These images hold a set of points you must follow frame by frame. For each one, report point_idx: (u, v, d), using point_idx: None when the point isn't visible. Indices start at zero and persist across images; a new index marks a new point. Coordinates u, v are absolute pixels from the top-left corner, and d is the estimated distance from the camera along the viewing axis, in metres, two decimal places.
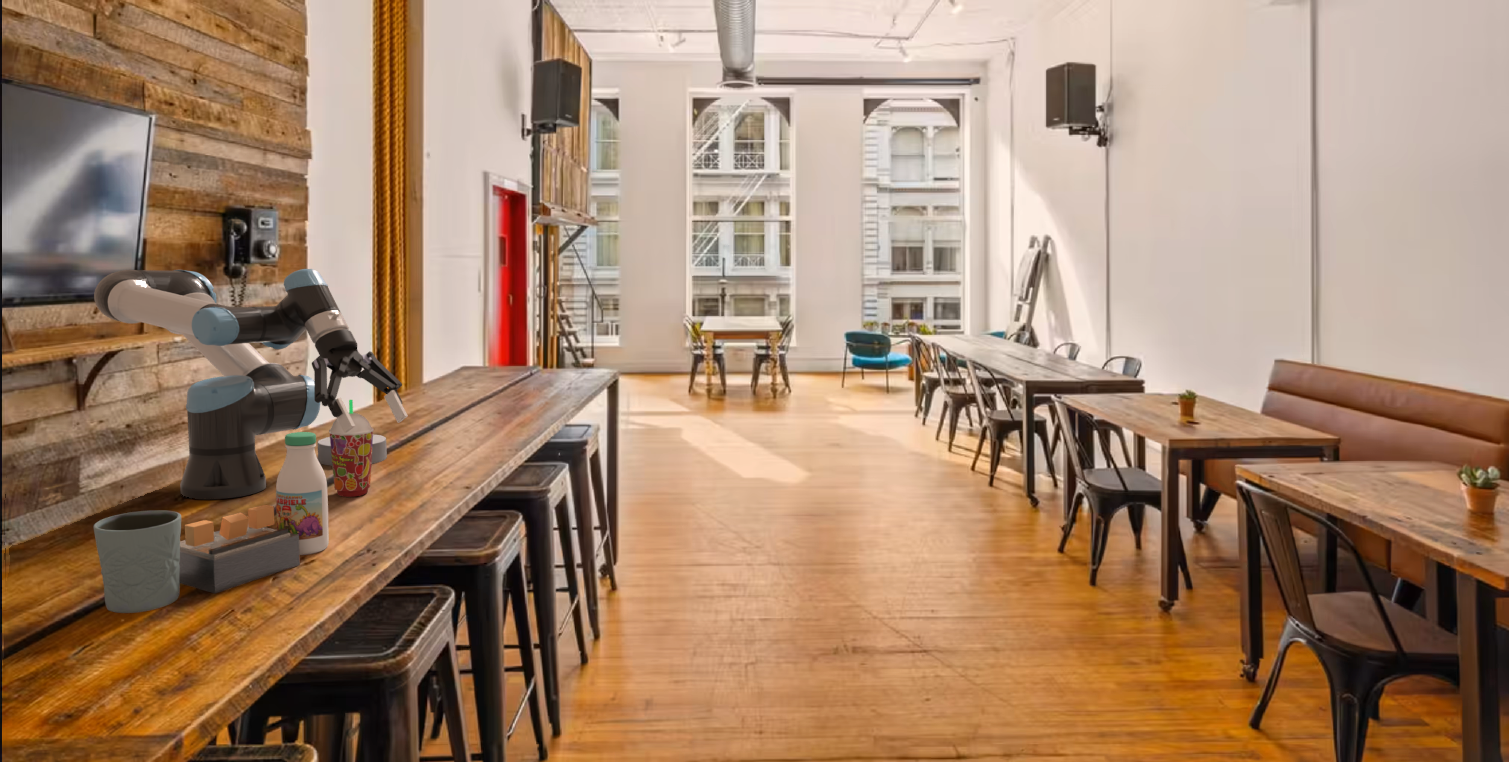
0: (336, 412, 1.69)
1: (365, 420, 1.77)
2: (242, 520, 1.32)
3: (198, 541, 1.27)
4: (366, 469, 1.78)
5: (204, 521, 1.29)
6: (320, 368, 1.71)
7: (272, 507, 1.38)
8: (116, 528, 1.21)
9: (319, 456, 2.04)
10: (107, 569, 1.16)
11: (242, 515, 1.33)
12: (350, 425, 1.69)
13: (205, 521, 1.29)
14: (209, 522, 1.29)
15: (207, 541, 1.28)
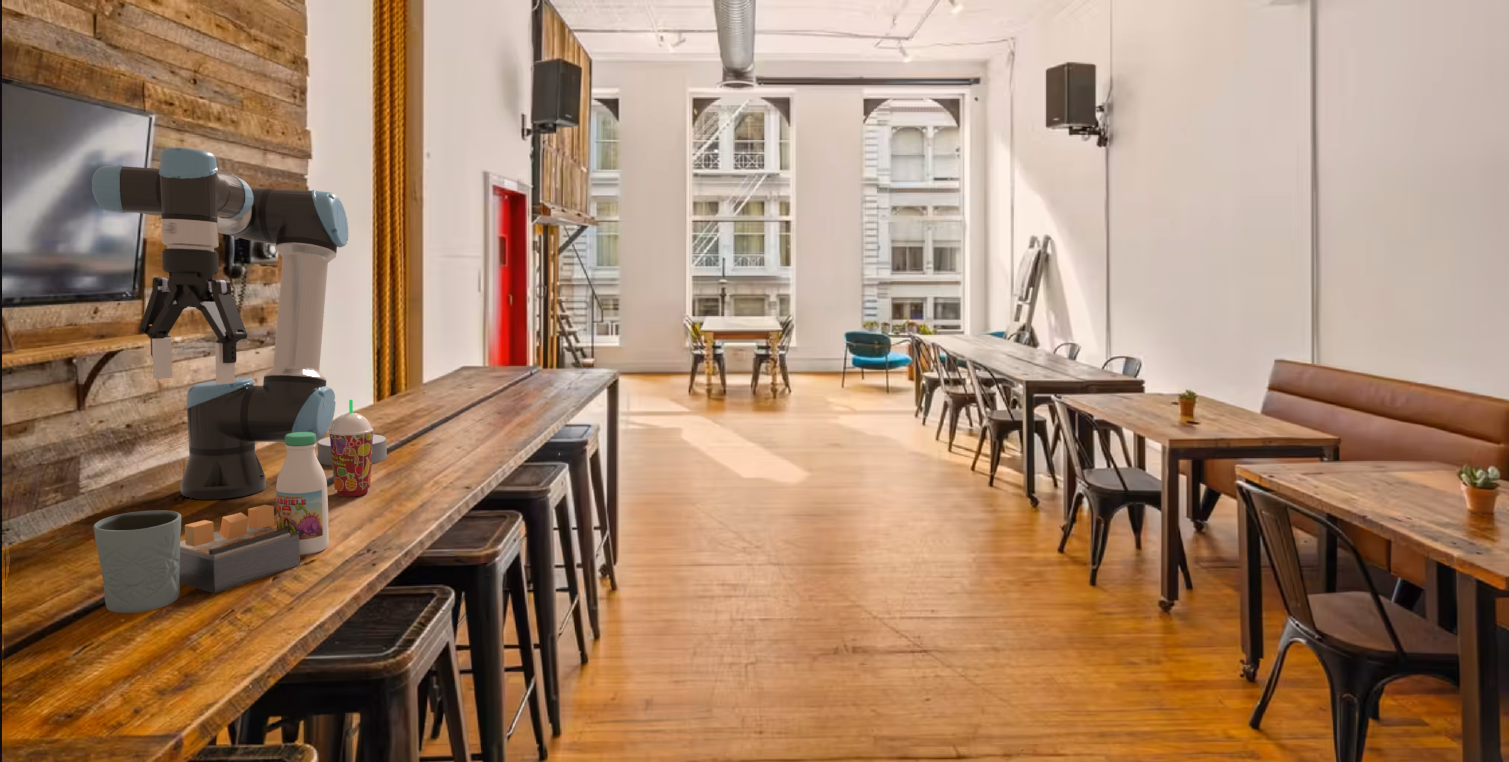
0: None
1: (365, 420, 1.77)
2: (242, 520, 1.32)
3: (198, 541, 1.27)
4: (366, 469, 1.78)
5: (204, 521, 1.29)
6: None
7: (272, 507, 1.38)
8: (116, 528, 1.21)
9: (319, 456, 2.04)
10: (107, 569, 1.16)
11: (242, 515, 1.33)
12: None
13: (205, 521, 1.29)
14: (209, 522, 1.29)
15: (207, 541, 1.28)
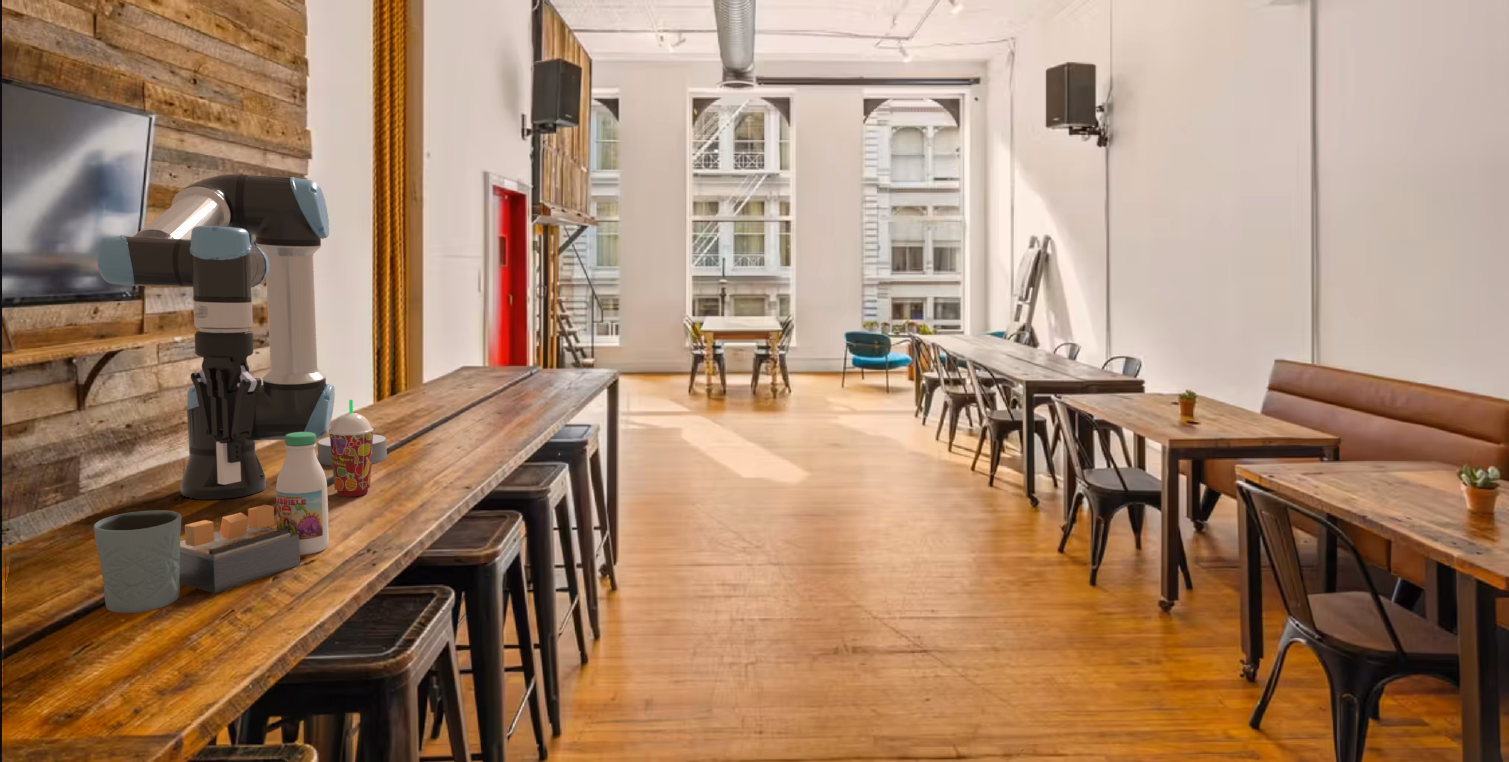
0: None
1: (365, 420, 1.77)
2: (242, 520, 1.32)
3: (198, 541, 1.27)
4: (366, 469, 1.78)
5: (204, 521, 1.29)
6: None
7: (272, 507, 1.38)
8: (116, 528, 1.21)
9: (319, 456, 2.04)
10: (107, 569, 1.16)
11: (242, 515, 1.33)
12: None
13: (205, 521, 1.29)
14: (209, 522, 1.29)
15: (207, 541, 1.28)
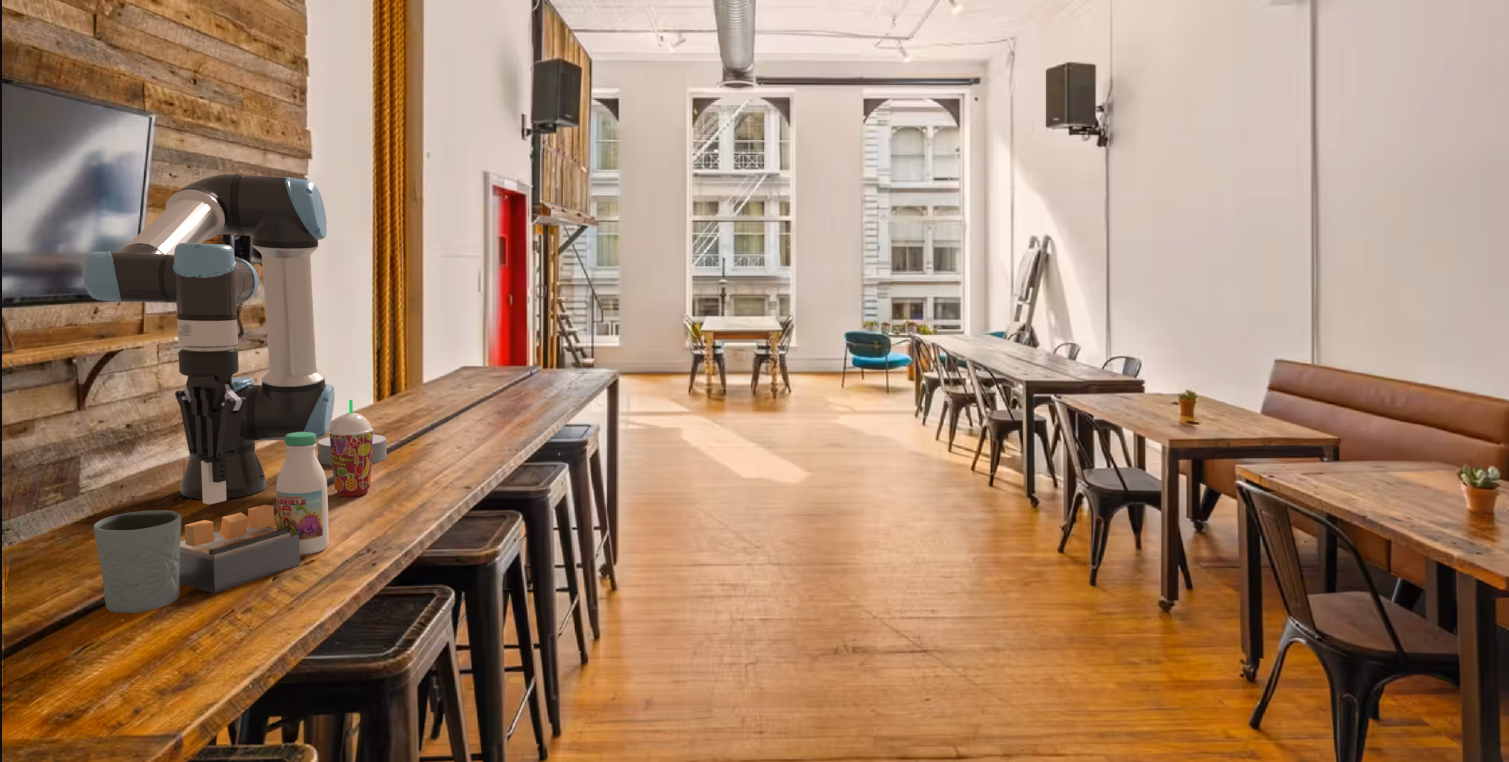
0: None
1: (365, 420, 1.77)
2: (242, 520, 1.32)
3: (198, 541, 1.27)
4: (366, 469, 1.78)
5: (204, 521, 1.29)
6: None
7: (272, 507, 1.38)
8: (116, 528, 1.21)
9: (319, 456, 2.04)
10: (107, 569, 1.16)
11: (242, 515, 1.33)
12: None
13: (205, 521, 1.29)
14: (209, 522, 1.29)
15: (207, 541, 1.28)
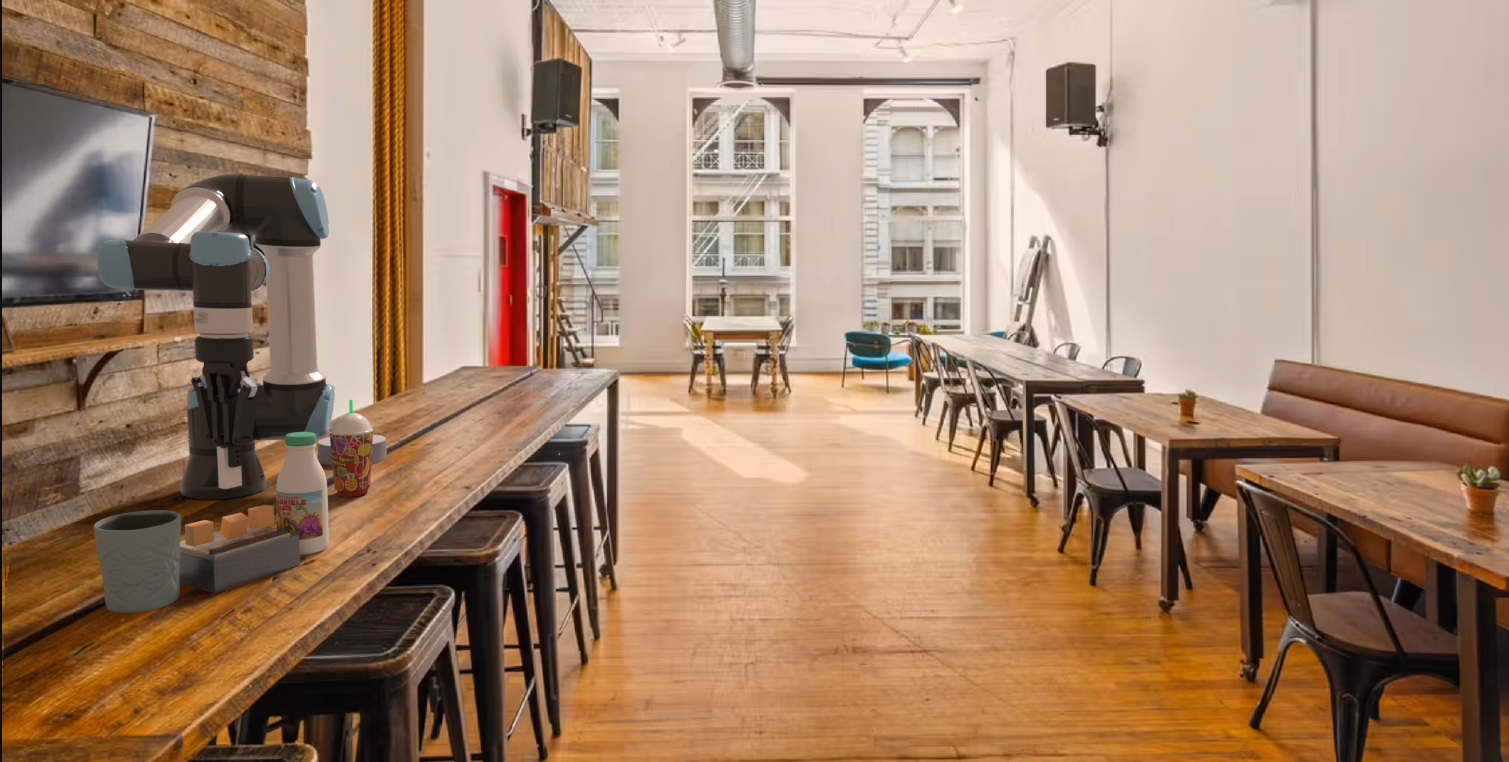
0: None
1: (365, 420, 1.77)
2: (242, 520, 1.32)
3: (198, 541, 1.27)
4: (366, 469, 1.78)
5: (204, 521, 1.29)
6: None
7: (272, 507, 1.38)
8: (116, 528, 1.21)
9: (319, 456, 2.04)
10: (107, 569, 1.16)
11: (242, 515, 1.33)
12: None
13: (205, 521, 1.29)
14: (209, 522, 1.29)
15: (207, 541, 1.28)
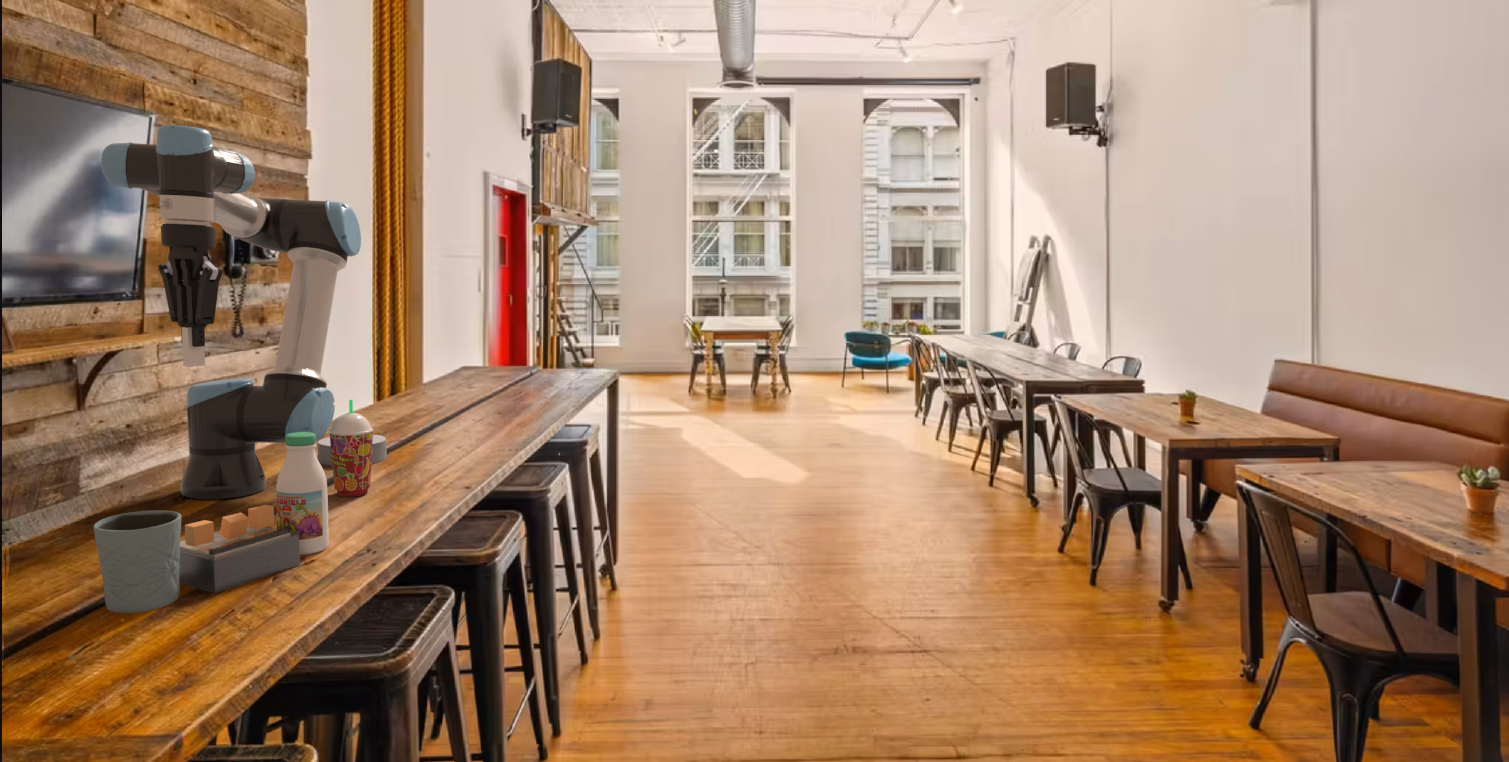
0: None
1: (365, 420, 1.77)
2: (242, 520, 1.32)
3: (198, 541, 1.27)
4: (366, 469, 1.78)
5: (204, 521, 1.29)
6: None
7: (272, 507, 1.38)
8: (116, 528, 1.21)
9: (319, 456, 2.04)
10: (107, 569, 1.16)
11: (242, 515, 1.33)
12: None
13: (205, 521, 1.29)
14: (209, 522, 1.29)
15: (207, 541, 1.28)
